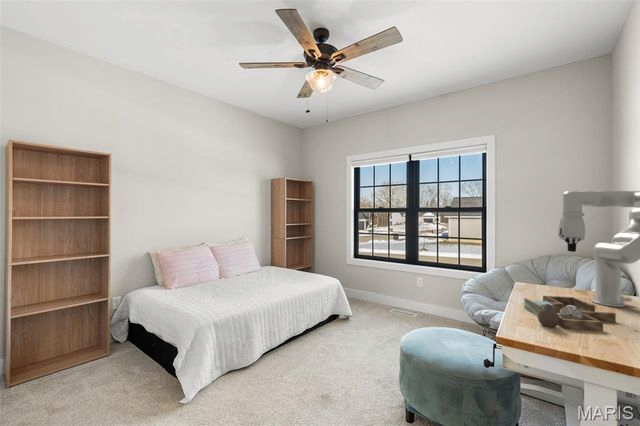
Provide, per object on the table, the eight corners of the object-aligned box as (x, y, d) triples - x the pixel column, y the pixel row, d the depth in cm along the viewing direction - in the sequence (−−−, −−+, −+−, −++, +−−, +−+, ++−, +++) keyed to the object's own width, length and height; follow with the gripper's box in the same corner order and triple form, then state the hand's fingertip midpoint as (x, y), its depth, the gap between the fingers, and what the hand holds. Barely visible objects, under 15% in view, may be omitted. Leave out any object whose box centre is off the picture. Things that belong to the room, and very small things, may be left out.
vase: (554, 324, 124) (554, 303, 124) (562, 330, 117) (562, 308, 117) (535, 322, 126) (535, 301, 126) (541, 328, 119) (541, 306, 119)
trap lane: (574, 303, 152) (574, 294, 152) (642, 333, 115) (642, 320, 115) (511, 300, 157) (511, 291, 157) (558, 328, 119) (558, 315, 119)
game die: (577, 333, 123) (594, 319, 117) (555, 324, 125) (571, 310, 119) (570, 317, 130) (586, 303, 125) (550, 309, 132) (565, 294, 126)
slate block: (545, 311, 140) (545, 301, 140) (553, 316, 134) (554, 305, 134) (531, 311, 141) (532, 300, 141) (539, 315, 135) (539, 304, 135)
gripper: (583, 215, 154) (582, 250, 154) (551, 215, 156) (551, 250, 156) (594, 215, 147) (593, 252, 147) (560, 215, 149) (560, 251, 149)
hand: (571, 251), depth 152 cm, fingers closed
